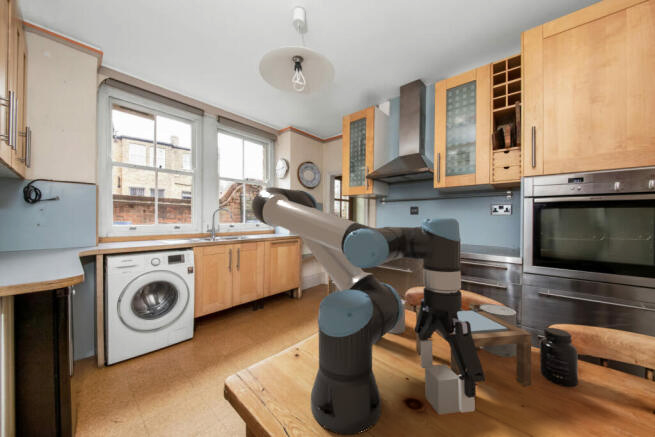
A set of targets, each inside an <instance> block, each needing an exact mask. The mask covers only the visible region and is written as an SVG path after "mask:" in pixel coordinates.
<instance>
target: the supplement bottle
mask: <svg viewBox="0 0 655 437" xmlns="http://www.w3.org/2000/svg"><path fill="white" fill-rule="evenodd" d="M572 343H573V340H572V334H571V333H570V332H568V331H566V330H563V329H560V328H555V327H546V328H544V337H542V338H541V339H540V340H539V361H540V364H539V366H540V374H541V375H542V377H543V378H545V380H548V382H550V383H552V384H555V385H558V386H560V387H564V388H571V389H572V388H576V387H578V384H579V369H578V368H579V367H578V364H579V362H578V359H579V358H578V350H577V348H576V347H575V346H574V345H573V344H572Z"/></svg>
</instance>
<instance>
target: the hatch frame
mask: <svg viewBox="0 0 655 437" xmlns="http://www.w3.org/2000/svg"><path fill="white" fill-rule="evenodd" d="M480 305H481V303H477V302H472V301H471V302H469V303H468V308H469V309H468V311H474V312H476V313H478V314H480V315H482V316H484V317H486V318H488V319H490V320H492V321H494V322H496V323H498V324H500V325H502V326H504V327H506V328H507V332H494V333H482V334H471V335H472V338H473V341H474V344H475V347H476V350H477V351H480V350H481V347H483V346H494V345H505V344H516V356H515V357H516V360H515V361H516V381H517V383H519V384H520V385H521V386H523V387H530V386H532V383H533V382H532V381H533V380H532V334H531V333H530V332H528V331H526V330H524V329H522V328H519V327H518V326H517V325H516V326H513V325H511V324H509V323H507V322H505V321H503V320H501V319H499V318H497V317H495V316H492V315H490V314H488V313H486V312H484V311H483V309H481V308H480ZM420 307H421V305H416V306H415V316H416V320H415V323H416V322H417V319H418V316H419V312H420ZM420 328H422V327H420ZM434 333H435V334H437V335H438V336H439V337H440V338H442V339H443V340H445V338H444V336H443V334H442V333H441V332H440V331H439V330H437V329H436V330H435V332H434ZM452 334H455V333H454V332H453V333H452ZM415 336H416V337H415V339H416V340H415V341H416V343H415V344H416V345H415V348H416V349H415V351H416V353H417V354H418V355H419V356H421V351H420V339H419V337H418V333H415ZM445 342H447V343H448V341H447V340H445ZM450 369H451V370H452V371H453V372H454V373H455V374H456V375H457V376H458V375H461V373H460V370H459V368H458V365H457V363H456V360H455V358H454V355H453V353H452V350H451V349H450Z"/></svg>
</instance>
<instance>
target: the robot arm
mask: <svg viewBox="0 0 655 437" xmlns="http://www.w3.org/2000/svg"><path fill="white" fill-rule="evenodd" d="M251 210H252V213H253V216H254V217H255V219H257V220H258V221H259V222H261V223H262V224H264V225H267V226H269V227H272V228H278V227H281V228H283V229H285V230H287V231H290V233H291V234H293V235H298V236H299V238H300V239H301V240H302V242H303V243H304V244H305V245H306V246H307V248H308V250H309V251H310V252H311V253H312V255H313V256H314V257H315V259H316V260H317V262H318V263H319V265H320V266H321V267H322V268H323V270H324V271H325V273H326V274H327V275H328V276H329V278H330V280H331V281H332V282H333V283H334V285H335V287H337V288H338V289H339V290H337V291H333V292H331V293H329V294H327V295H326V296H324V297H323V299H322V300H321V301H320V304H319V307H318V309H319V310H318V316H317V324H318V369H317V372H316V376H315V379H314V382H313V385H312V389H311V393H310V394H311V395H310V409H311V413H312V415H313V417H314V419H315V420H316V421H317V423H318V424H319V425H321V426H322V425H323V426H325V427H326V428H328V429H330V430H332V431H331V432H333V431H335V432H334V433H336V432H337V433H336V434H340V433H341V434H340V435H356V434H355V433H357V434H360V433H359V432H361V431H364V430H366V429H368V428H370V427H371V426H372V427H373V426H375V424H377V422H378V420H380V419H379V418H380V416H381V412H382V410H381V409H382V406H381V405H382V401H381V393H380V390H379V388H378V384H377V381H376V377H375V374H374V372H373V345H374V344H376V343H377V342H378V341H379V340H380V339H382V337H384V336H385V335H386V334H387V333H388V331H390V330H392V329H393V328H394V327H395V326H396V324H397V323H398V321H399V320H400V318H401V316H402V301H401V300H402V298H401V295H400V294H399V293H398V291H397V290H396V289H395V288H394V287H392V286H391V285H390V284H388V283H384V282H380V281H379V280H378V278H376V276H375V275H374V273H372V272H365V271H364V270H363V269H367V268H368V269H371V268H372V269H373V268H376V267H379V266H380V265H383V264H385V263H388V262H391V261H395V260H398V259H410V260H421V261H422V281H423V282H422V285H423V286H424V288H423V299H424V301H420V306H421V307H420V312H419V316H418V319H417V322H416V321H415V323H416V324H415V326H414V332H415V334H416V333H418V337H419V339H420V351H421V355H420V367H421V369H422V370H423V369H425V366H431V365H434V363H433V360H434V359H433V340H432V338H433V337H432V335H434V333H436V332H435V330H436V329H437V330H439V331H440V332H441V333H442V334H443V336H444V338H445V341H446V340H447V341H448V342H447V341H446V342H447V343H448V345H449V348H450V351H451V350H452V353H453V355H454V358H455V360H456V363H457V365H458V368H459V370H460V373H461V375H458V389H459V410H460V412H461V414H462V413H463V414H464V413H469V412H475V410H476V409H475V408H476V407H475V406H476V405H475V397H476V395H477V391H476V390H477V388H476V385H477V383H481V382H485V381H486V376H485V373H484V368H483V366H482V364H481V360H480V357H479V354H478V350H476V347H475V344H474V341H473V338H472V335H471V326H470V323H469V322H468V321H463V322H462V321H460V320H459V319H458V315H457V312H458V311H459V310H460V309H462V307H463V304H462V303H463V301H462V298H463V297H462V292H461V291H460V289H461V288H462V278H461V275H462V274H461V269H462V268H461V267H462V266H461V259H462V258H461V241H462V239H461V236H460V224H459V221H458V220H457V219H455V218H452V217H450V218H448V217H447V218H446V217H444V218H442V217H441V218H440V217H439V218H424V219H422V220H421V225H420V226H415V227H410V226H408V227H407V226H405V227H404V226H401V227H400V226H382V227H381V226H380V227H377V228H376V227H372V226H368V225H366V224H362V223H359V222H356V221H352V220H350V219H347V218H344V217H341V216H337V215H335V214H331V213H328V212H325V211H322V210H319V208H318V202H317V200H316V198H315V197H314V195H313V194H311V193H310V192H307V191H305V190H299V189H289V188H283V187H282V188H281V187H276V186H274V187H273V186H272V187H266V188H262V189H261V190H259V191H258V192H257V193H256V194H255V195H254V196H253V199H252V202H251ZM420 327H422V328H420ZM454 331H455V333H456V334H452V333H453V332H454ZM376 341H377V342H376ZM375 342H376V343H375ZM323 426H322V427H323ZM325 427H324V428H325ZM372 427H371V428H372ZM326 428H325V429H326ZM371 428H370V429H371ZM328 429H327V430H328ZM330 430H329V431H330ZM368 430H369V429H368ZM366 431H367V430H366ZM364 432H365V431H364ZM361 433H362V432H361Z"/></svg>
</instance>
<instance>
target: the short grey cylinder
mask: <svg viewBox="0 0 655 437" xmlns="http://www.w3.org/2000/svg"><path fill="white" fill-rule="evenodd" d="M480 308H481V309H483V311H484V312H486V313H488V314H490V315H492V316H495V317H497V318H499V319H501V320H503V321H505V322H507V323H509V324H511V325H513V326H516V327H517V311H516V310H515V309H513V308H510V307H507V306H505V305H500V304H494V303H480ZM480 349H482V350H484V351H485V352H487V353H490V354H492V355H494V356H497V357H503V358H513V357H516V344H505V345H494V346H483V347H480Z"/></svg>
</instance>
